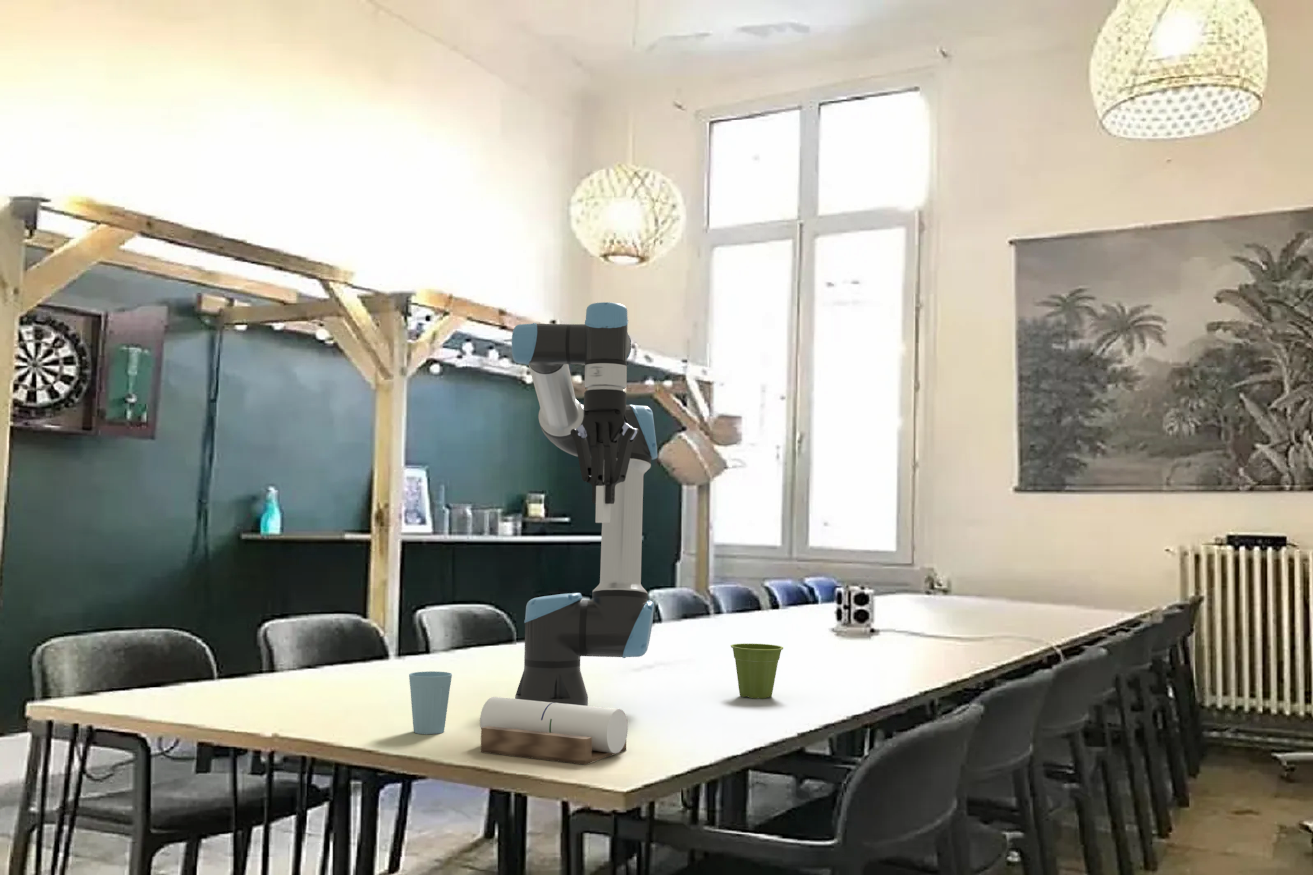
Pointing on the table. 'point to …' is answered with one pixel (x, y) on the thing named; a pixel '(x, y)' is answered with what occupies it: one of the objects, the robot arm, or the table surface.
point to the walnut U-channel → (540, 745)
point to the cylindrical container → (559, 720)
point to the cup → (429, 700)
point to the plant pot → (756, 668)
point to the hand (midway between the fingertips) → (602, 522)
